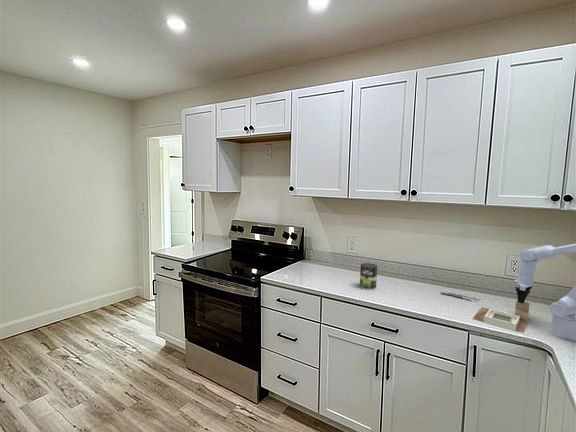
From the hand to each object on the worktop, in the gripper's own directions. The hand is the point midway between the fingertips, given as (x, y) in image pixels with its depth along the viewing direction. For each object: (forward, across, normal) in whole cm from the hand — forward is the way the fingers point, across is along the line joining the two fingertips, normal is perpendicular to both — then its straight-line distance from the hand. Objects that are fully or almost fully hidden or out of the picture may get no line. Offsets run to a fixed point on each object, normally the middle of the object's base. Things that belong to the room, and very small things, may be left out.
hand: (521, 300), depth 149 cm
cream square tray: (+10, +12, -5) cm, 16 cm away
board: (+10, +8, -6) cm, 14 cm away
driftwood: (+13, -12, -29) cm, 34 cm away
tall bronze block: (+9, 0, +1) cm, 9 cm away
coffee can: (+14, +11, -75) cm, 77 cm away
